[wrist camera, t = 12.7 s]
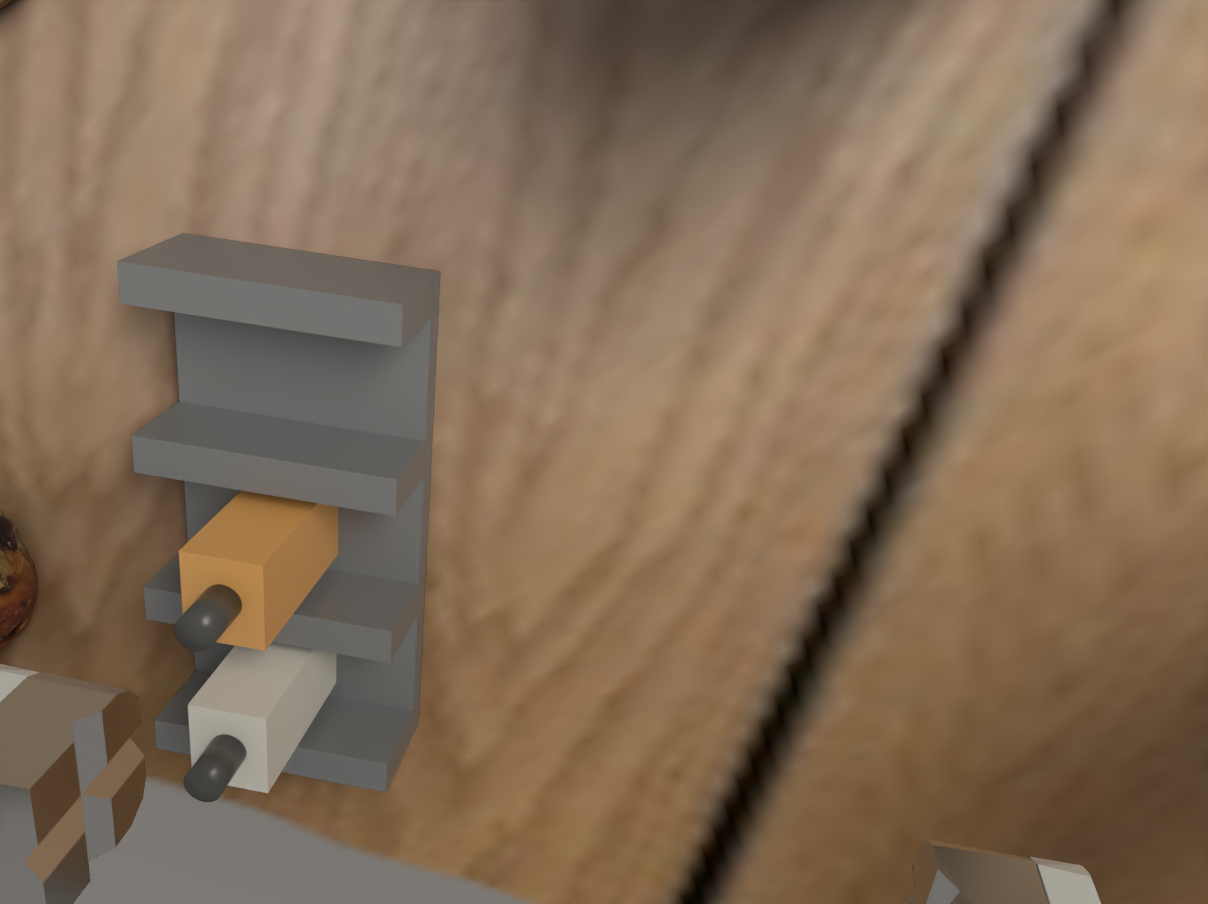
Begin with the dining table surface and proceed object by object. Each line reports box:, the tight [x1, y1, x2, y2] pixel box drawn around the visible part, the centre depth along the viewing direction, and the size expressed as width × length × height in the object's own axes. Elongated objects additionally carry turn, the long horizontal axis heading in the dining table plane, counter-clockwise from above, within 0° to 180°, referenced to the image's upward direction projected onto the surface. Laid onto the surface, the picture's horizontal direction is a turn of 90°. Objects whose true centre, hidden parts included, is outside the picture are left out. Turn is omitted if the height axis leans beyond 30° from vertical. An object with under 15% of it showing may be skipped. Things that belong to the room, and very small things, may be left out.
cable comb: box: [117, 233, 440, 792], centre depth 42 cm, size 10×21×4 cm, turn 174°
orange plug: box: [174, 491, 338, 652], centre depth 39 cm, size 3×4×9 cm
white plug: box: [184, 642, 336, 802], centre depth 42 cm, size 3×4×9 cm
